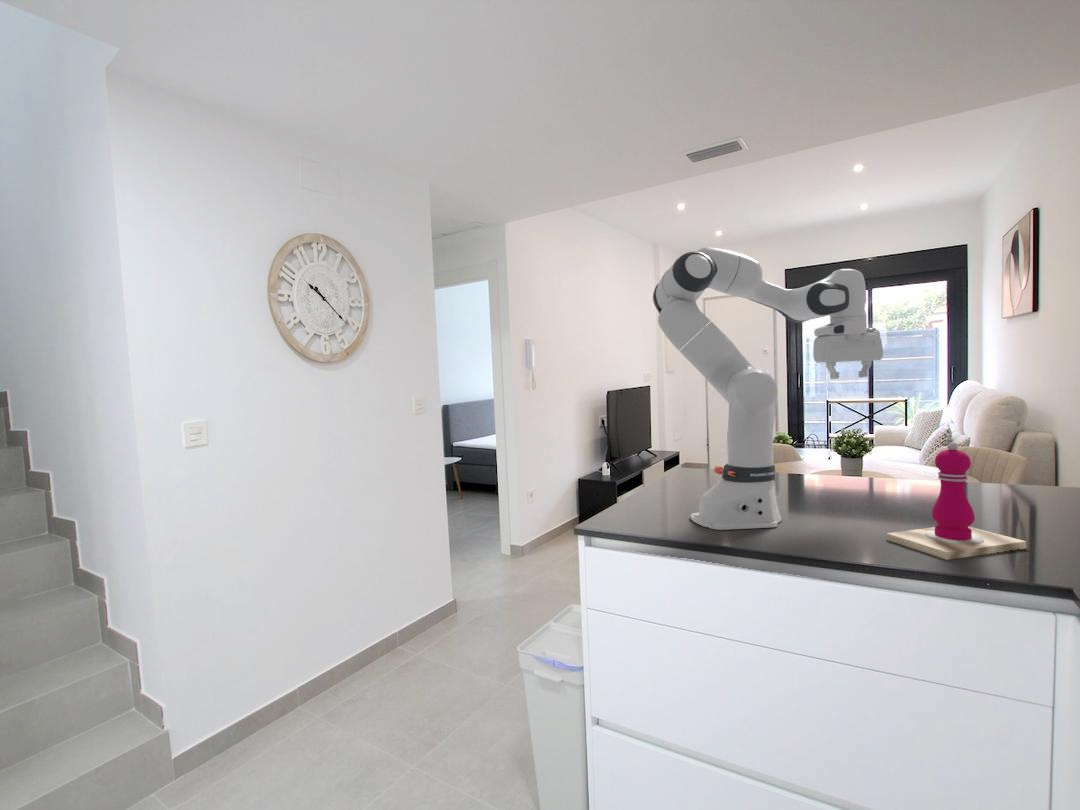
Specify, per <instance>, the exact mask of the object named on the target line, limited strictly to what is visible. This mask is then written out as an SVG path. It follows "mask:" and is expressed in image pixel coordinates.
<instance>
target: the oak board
mask: <svg viewBox="0 0 1080 810" xmlns="http://www.w3.org/2000/svg"><path fill="white" fill-rule="evenodd" d="M968 528H970V529H971V530H972V538H971V539H969V540H951V539H945V538H941V537H938V536H936V535H935V526H933V527H926V528H917V529H909V530H900V531H893V532H886V540H887V541H888V542H892V543H894V544H898V545H901V546H904V547H907V548H910V549H913V550H916V551H919V552H922V553H925V554H928V555H931V556H934V557H937V558H940V559H943V560H946V561H948V560H955V559H963V558H969V557H971V558H972V557H976V556H983V555H991V553H992V554H997V552H999V553H1004V551H1006V552H1011V551H1010V550H1013V551H1018V550H1017V549H1020V550H1026V549H1027V541H1026V540H1024V539H1023V540H1022V539H1019V538H1014V537H1012V536H1007V535H1003V534H999V533H995V532H992V531H987V530H984V529H980V528H976V527H973V526H969V527H968Z"/></svg>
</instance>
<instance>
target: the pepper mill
mask: <svg viewBox="0 0 1080 810" xmlns="http://www.w3.org/2000/svg"><path fill="white" fill-rule="evenodd" d="M946 448H947V449H945V450H942V451H940V452H939V453H937V455H935V459H934V463H935V464H934V465H935V466H936V468H937V469H938V470H939V472H937V474H938V476H937V478H938V480H940V489H939V490H940V491H939V493H938V496H937V499H936V500H935V502H934V504H933V506H932V511H931V512H932V513H931V517H932V519H933V520H934V521H935V523H937V524H936V525H934V527H935V535H936V536H938V537H941V538H945V539H951V540H969V539H971V538H972V530H971V529H970V528H968V527H971V526H972V525H973V523H974V522H975V520H976V518H975V512H974V509H973V507H972V505H971V504H970V502H969V500H968V497H967V494H966V482H967V481H968V480H969V479H968V475H969V474H968V473H967V471H968V470H969V469H970V467H971V464H972V462H971V458H970V456H969V455H968V454H967V453H966V452H964V451H962V450H960V449H958V448H959V447H958V444H957V443H956V442H953V441H952V442H949V443H948V444H947V447H946Z"/></svg>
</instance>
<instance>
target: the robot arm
mask: <svg viewBox="0 0 1080 810" xmlns="http://www.w3.org/2000/svg"><path fill="white" fill-rule="evenodd" d="M866 288H867V287H866V281H865V278H864V274H863V273H862V272H861V271H859V270H857V269H854V268H853V269H852V268H839V269H837V270H834V271H833V272H832V273H830V274H829V275H828V276H827V277H825V278H822V279H820V280H818V281H815V282H814V283H811V284H808V285H805V286H802V287H797V288H789V289H788V288H783V287H781V286H779V285H777V284H773V283H771V282H768V281H766V280H764V279H763V268H762V266H761V264H760V262H759V261H757V260H756V259H754V258H752V257H750V256H748V255H746V254H743V253H740V252H735V251H733V250H729V249H725V248H718V247H709V246H705V247H701V248H699V249H698V250H697V251H689V252H686V253H683V254H682V255H680V256H679V257H678V258H677V259H676V260H675V261H674V263H673V264H672V265H671V266H670V267H669V268H668V269H667V270H666V271H665V272H664V273H663V275H662V277H661V278H660V279H659V282H658V283H657V284H656V286H655V287H654V290H653V294H652V302H653V304H654V307H655V308H656V310H657V312H658V314H659V315H658V318H657V323H658V326H659V328H660V330H661V331H662V332H663V334H664V335H665V336H666V338H667V339H668V340H669V342H670V343H671V344H672V345H673V346H674V347H675V348H676V350H677V351H679V352H680V354H682V356H683V357H684V358H685V359H686V360H687V361H688V362H689V363H690V364H691V365H692V366H693V367H694V368H695V369H696V370H697V371H698V372H699V373H700V374H701V375H702V376H703V377H704V379H705V380H706V381H707V382H708V383H709V384H710V385H711V386H712V387H713V388H714V389H715V390H716V392H718V394H719V395H720V396H721V397H722V398H723V399H724V400H725V402H727V403H728V419H727V420H728V422H727V432H726V446H727V447H726V450H727V452H726V453H727V464H725V467H723V466H720V465H716V466H714V467H713V473H715V474H718V475H721V479H720V480H718V481H717V483H715V484H714V485H713V486H712V487H710V489H709V490H707V491H706V492H705V493H703V495H702V496H701V498H700V502H699V512H693V513H691V514H690V520H691V521H692V522H693V523H695V524H698V525H700V526H702V527H705V528H707V527H708V528H707V529H710V530H717V531H726V530H727V531H728V530H748V529H763V528H764V529H766V528H767V529H768V528H777V527H778V523H780V522H781V521H782V516H781V513H780V511H779V506H778V503H777V501H778V500H777V496H776V495H777V494H776V488H775V483H776V479H777V478H776V465H775V464H774V443H773V442H774V440H773V439H774V437H773V436H774V425H775V417H776V409H777V408H776V407H777V405H776V404H777V396H778V395H777V394H778V388H777V384H776V381H775V379H774V378H773V376H772V375H771V374H770V373H769V372H767V371H765V370H763V369H760V368H755V367H753V365H752V364H751V363H750V361H748V360H747V358H746V357H745V356H744V355H743V353H741V351H740V350H739V349H738V348H737V346H736V345H735V344H734V342H733V341H732V340H731V339H730V338H729V337H728V336H727V335H726V334H725V333H724V332H723V331H722V330H721V329H720V328H719V327H718V326H717V325H716V324H715V323H714V322H713V321H712V320H711V319H710V318H709V317H708V316H707V315H705V314H704V313H703V312H702V311H701V310H700V309H699V306H698V304H697V300H698V299H699V298H700V297H701V295H702V294H704V292H705V290H706V289H712V290H714V291H717V292H719V293H724V294H726V295H729V296H732V297H733V296H734V297H738V298H743V299H747V300H748V301H752V302H754V303H757V304H760V305H763V306H765V307H768V308H770V309H773V310H775V311H776V312H778V313H779V314H781V315H782V316H783V317H784V318H785V319H786V320H788V321H789V322H792V323H796V324H800V323H804V322H806V321H810V320H815V319H819V318H823V317H828V316H829V320H830V321H829V323H827V324H825V325H823V326H821V327H817V328H815V329H814V336H815V338H814V341H813V347H812V348H813V349H812V351H813V352H812V353H813V354H812V356H813V360H814V362H815V363H816V364H824V363H825V367H826V369H827V370H828V373H829V378H830V380H838V379H839V378H840V372H839V371H838V372H837V370H836V368H835V367H836V365H837V363H839V362H841V363H845V362H846V363H847V362H860V365H862V367H861V370H859V371H858V378H868V376H869V370H870V368H871V366H872V362H873V361H881V360H882V359H883V357H884V348H883V342H882V338H881V332H880V331H879V330H878V329H877V328H875V327H871V328H870V327H867V313H866V310H865V308H866V306H865V305H866V302H867V289H866Z"/></svg>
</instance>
